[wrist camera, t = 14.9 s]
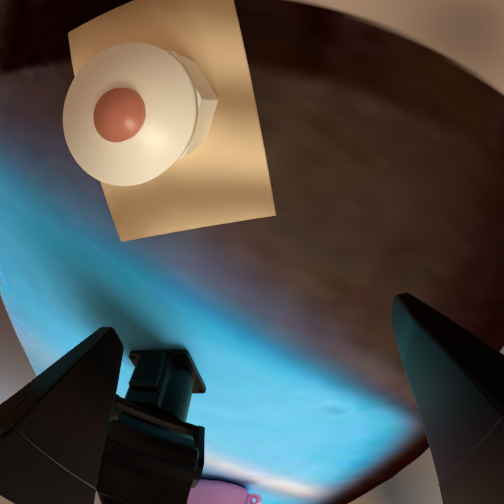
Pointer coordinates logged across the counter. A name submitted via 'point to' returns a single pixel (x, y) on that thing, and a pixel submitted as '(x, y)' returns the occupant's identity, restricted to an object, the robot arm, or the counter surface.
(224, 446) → the counter surface
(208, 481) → the teapot
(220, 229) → the counter surface
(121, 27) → the stud block
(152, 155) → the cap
